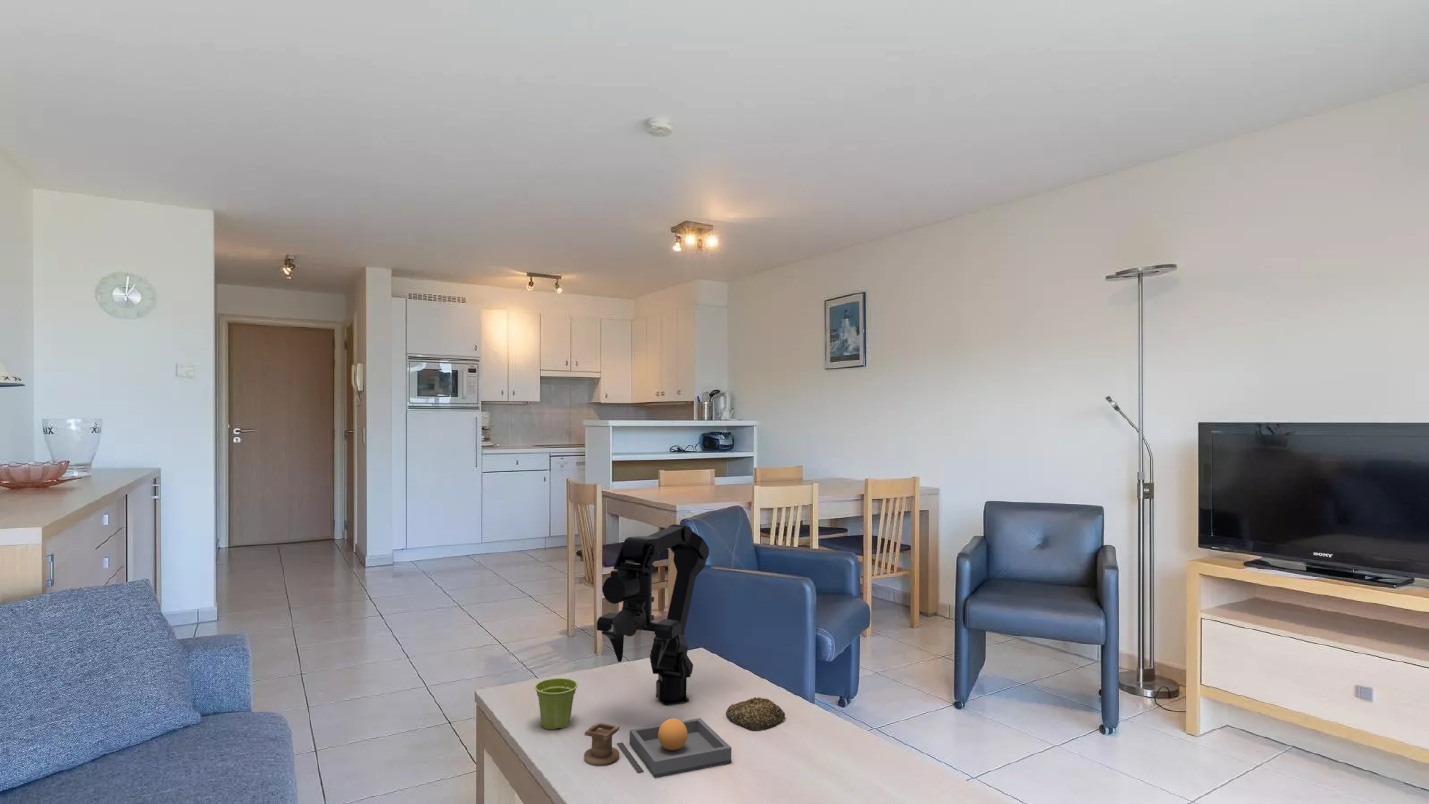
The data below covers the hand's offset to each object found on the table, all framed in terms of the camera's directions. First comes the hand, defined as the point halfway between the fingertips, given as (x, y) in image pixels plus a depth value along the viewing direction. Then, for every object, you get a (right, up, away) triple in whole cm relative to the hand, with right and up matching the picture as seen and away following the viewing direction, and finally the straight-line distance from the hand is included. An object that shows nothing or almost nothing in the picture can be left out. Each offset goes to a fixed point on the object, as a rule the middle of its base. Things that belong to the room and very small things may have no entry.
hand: (638, 664), depth 169 cm
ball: (+10, -11, -13) cm, 20 cm away
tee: (-5, -13, -18) cm, 22 cm away
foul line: (0, -13, -18) cm, 22 cm away
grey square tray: (+10, -13, -16) cm, 22 cm away
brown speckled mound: (+27, -14, +3) cm, 30 cm away
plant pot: (-18, -13, -2) cm, 22 cm away
